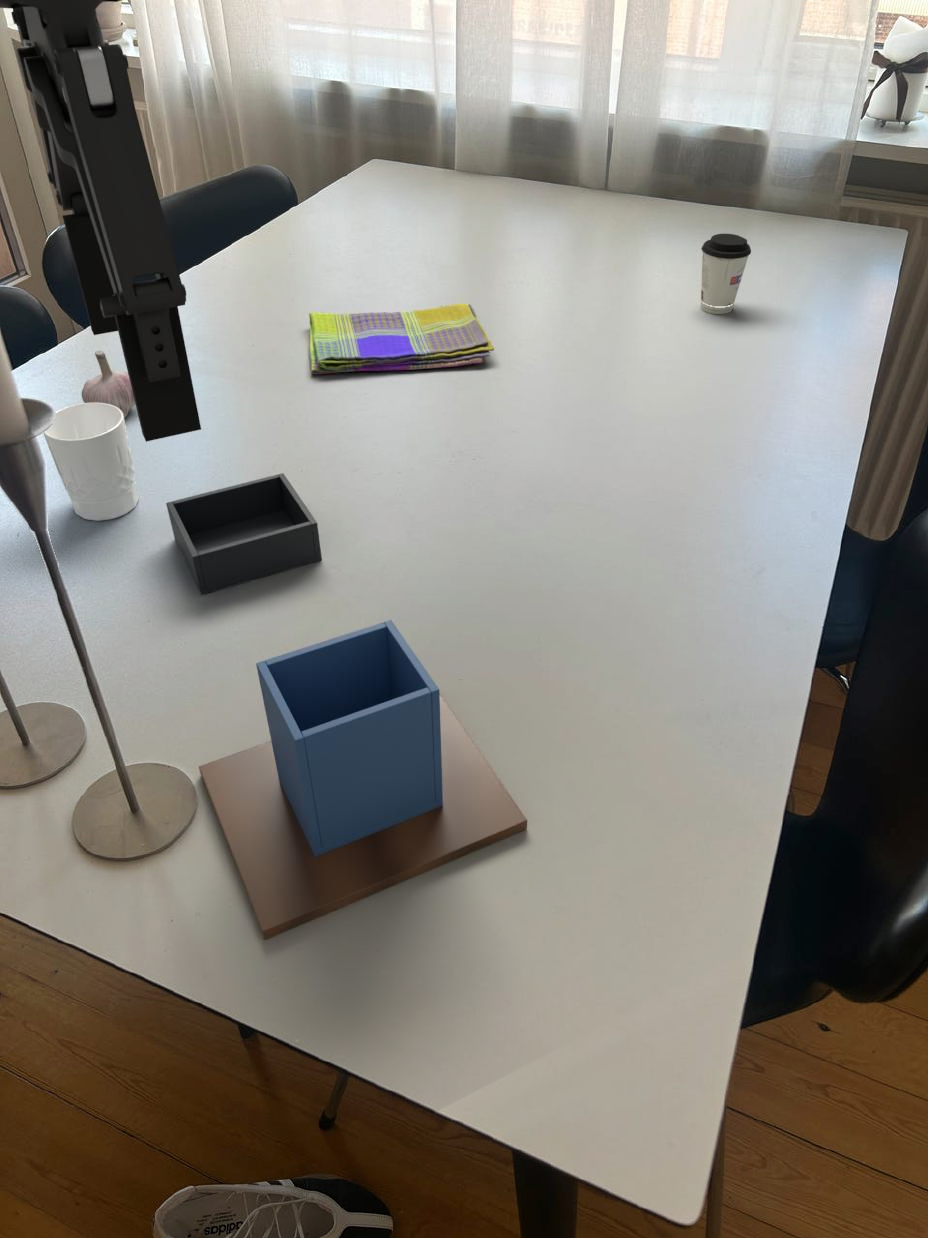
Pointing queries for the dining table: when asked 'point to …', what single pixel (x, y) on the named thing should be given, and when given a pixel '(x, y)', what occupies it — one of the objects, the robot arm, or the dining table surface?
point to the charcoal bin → (244, 532)
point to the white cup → (94, 460)
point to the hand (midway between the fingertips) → (142, 376)
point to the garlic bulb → (109, 387)
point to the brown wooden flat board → (313, 886)
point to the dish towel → (397, 340)
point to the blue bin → (354, 734)
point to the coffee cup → (722, 271)
